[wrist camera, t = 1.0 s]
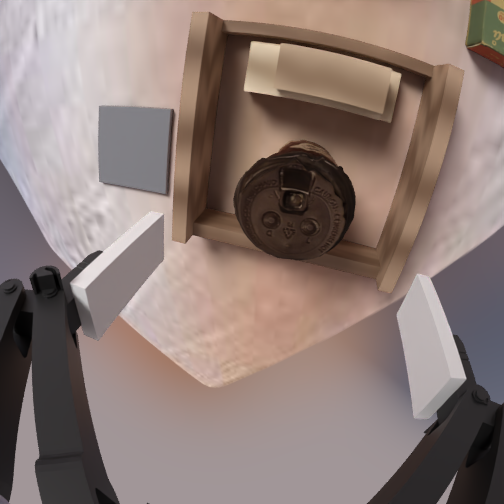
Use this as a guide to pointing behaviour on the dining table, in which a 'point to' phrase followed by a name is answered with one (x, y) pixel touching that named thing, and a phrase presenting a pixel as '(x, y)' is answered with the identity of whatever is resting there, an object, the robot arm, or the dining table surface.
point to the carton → (487, 29)
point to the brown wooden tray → (202, 132)
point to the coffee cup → (295, 202)
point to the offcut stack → (322, 79)
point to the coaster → (135, 146)
